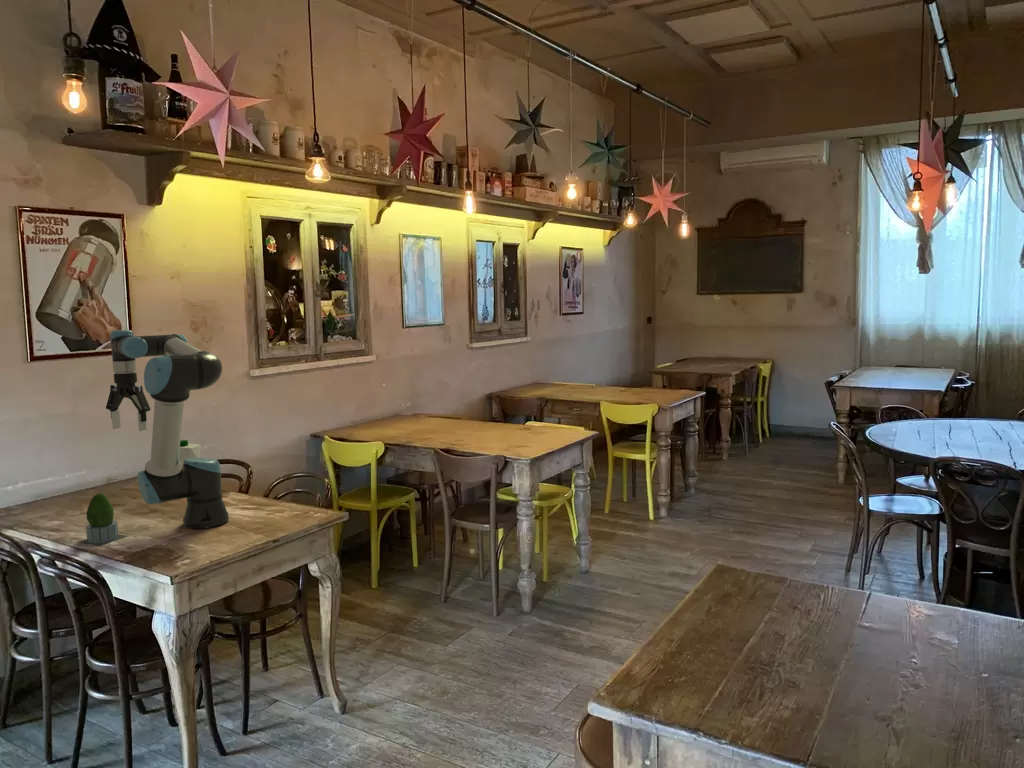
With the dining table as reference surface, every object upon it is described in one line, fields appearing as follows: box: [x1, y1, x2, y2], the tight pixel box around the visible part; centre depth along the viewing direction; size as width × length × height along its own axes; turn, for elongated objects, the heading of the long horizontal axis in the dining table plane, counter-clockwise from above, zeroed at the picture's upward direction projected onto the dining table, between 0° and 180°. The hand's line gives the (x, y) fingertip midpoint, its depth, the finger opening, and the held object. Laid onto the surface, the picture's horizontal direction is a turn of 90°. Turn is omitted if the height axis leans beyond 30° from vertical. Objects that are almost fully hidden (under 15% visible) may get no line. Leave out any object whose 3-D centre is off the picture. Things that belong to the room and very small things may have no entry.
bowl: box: [85, 520, 119, 544], centre depth 247 cm, size 9×9×5 cm
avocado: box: [86, 493, 115, 527], centre depth 246 cm, size 8×8×12 cm
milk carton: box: [179, 439, 202, 465], centre depth 313 cm, size 9×9×20 cm
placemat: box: [76, 533, 129, 547], centre depth 247 cm, size 11×11×1 cm
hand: (129, 429), depth 275 cm, fingers open, 13 cm apart
